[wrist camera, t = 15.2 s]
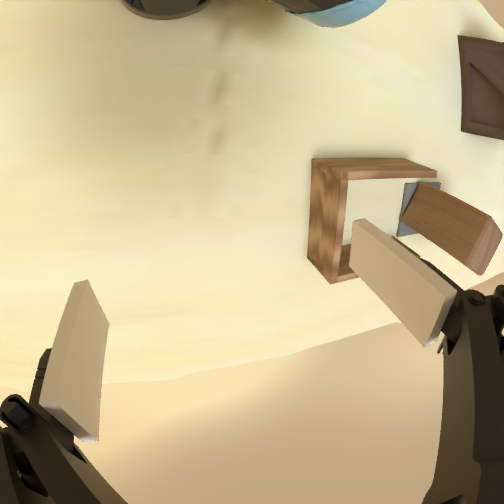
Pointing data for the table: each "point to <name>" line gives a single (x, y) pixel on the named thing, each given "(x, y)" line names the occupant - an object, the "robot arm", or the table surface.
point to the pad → (407, 197)
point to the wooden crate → (482, 86)
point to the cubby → (334, 205)
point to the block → (453, 226)
